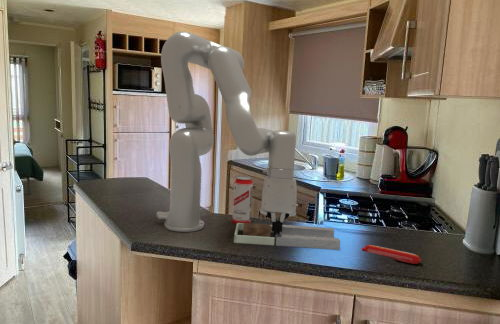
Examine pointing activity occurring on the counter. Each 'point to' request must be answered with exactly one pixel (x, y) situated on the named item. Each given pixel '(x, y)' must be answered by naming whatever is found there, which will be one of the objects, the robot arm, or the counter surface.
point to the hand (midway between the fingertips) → (276, 233)
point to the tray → (252, 237)
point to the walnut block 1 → (250, 229)
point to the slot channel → (307, 237)
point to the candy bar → (393, 254)
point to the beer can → (242, 200)
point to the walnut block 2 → (263, 230)
